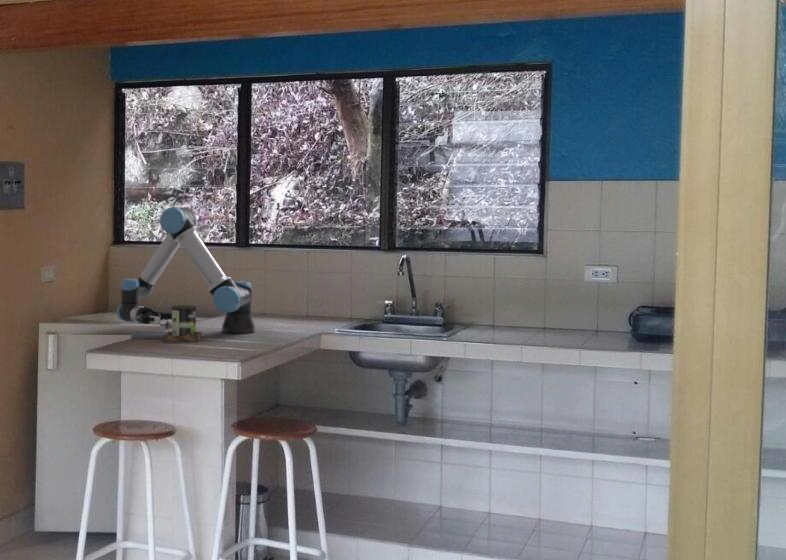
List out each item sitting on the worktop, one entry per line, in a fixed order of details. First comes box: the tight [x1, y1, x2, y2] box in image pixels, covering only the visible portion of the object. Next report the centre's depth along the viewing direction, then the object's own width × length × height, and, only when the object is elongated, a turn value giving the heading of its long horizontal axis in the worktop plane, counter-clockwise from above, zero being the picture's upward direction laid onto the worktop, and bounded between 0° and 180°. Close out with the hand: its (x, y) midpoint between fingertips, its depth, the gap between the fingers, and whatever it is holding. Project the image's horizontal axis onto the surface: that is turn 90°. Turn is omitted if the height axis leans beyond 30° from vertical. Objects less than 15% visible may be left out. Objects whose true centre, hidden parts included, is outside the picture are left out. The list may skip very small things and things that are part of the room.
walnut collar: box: [163, 331, 203, 343], centre depth 392 cm, size 14×14×2 cm
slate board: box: [130, 330, 167, 340], centre depth 399 cm, size 13×13×2 cm
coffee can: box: [171, 305, 197, 336], centre depth 392 cm, size 10×10×14 cm
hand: (172, 319), depth 395 cm, fingers open, 13 cm apart
